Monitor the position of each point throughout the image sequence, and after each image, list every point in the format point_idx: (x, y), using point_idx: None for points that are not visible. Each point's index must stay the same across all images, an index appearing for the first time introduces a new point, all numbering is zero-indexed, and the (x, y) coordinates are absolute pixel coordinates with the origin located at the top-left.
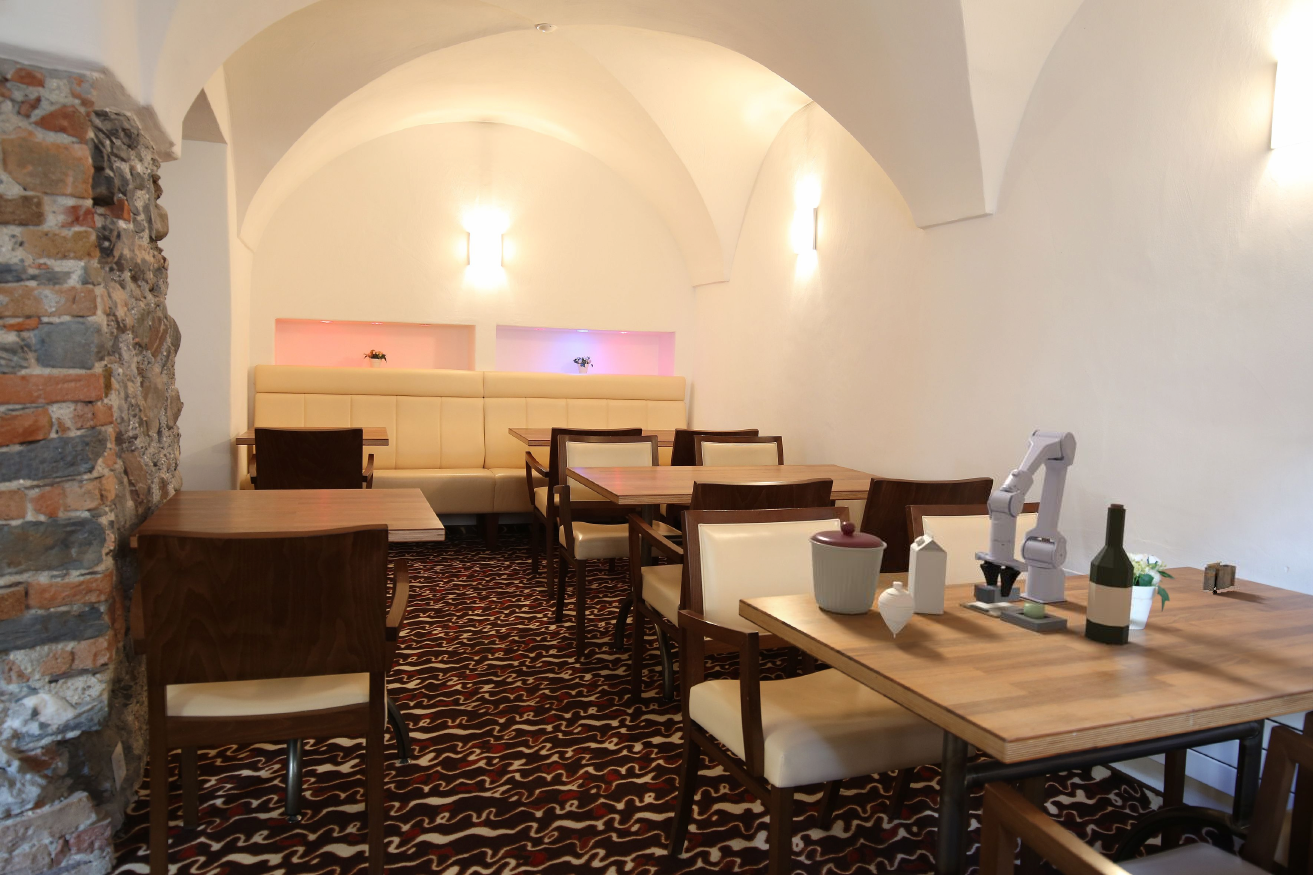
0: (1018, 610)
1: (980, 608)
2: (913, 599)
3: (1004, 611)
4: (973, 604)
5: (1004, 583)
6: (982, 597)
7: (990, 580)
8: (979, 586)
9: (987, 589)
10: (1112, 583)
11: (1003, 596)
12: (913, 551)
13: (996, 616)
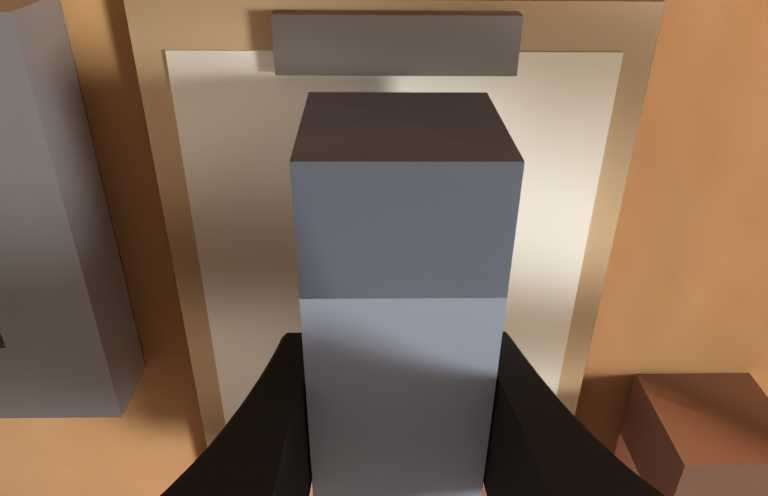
0: (37, 247)
1: (355, 16)
2: None
3: (3, 54)
4: (511, 75)
5: (212, 444)
6: (390, 111)
7: (514, 449)
8: (751, 460)
9: (330, 186)
10: None
11: (283, 340)
12: None
13: (133, 20)
